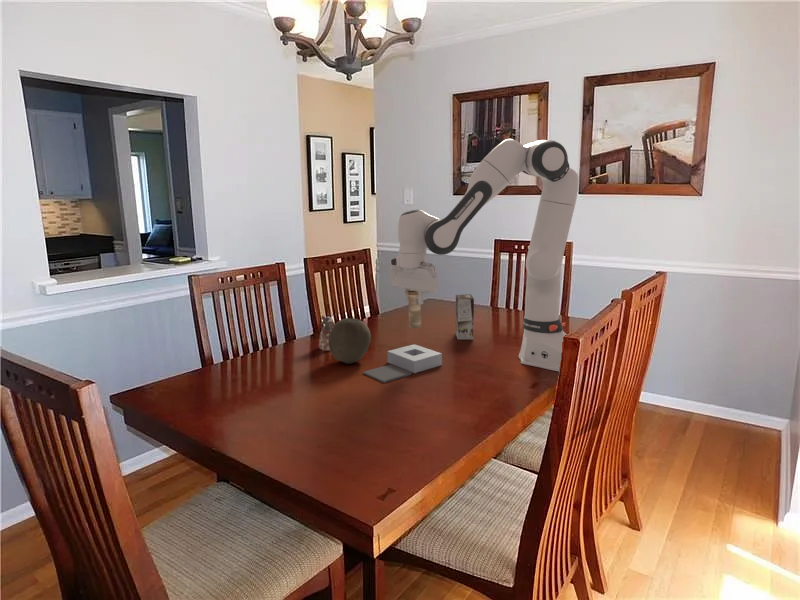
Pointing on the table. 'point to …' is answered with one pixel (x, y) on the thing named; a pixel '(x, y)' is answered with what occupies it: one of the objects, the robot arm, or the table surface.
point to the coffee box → (464, 316)
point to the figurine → (325, 332)
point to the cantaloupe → (349, 340)
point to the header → (414, 358)
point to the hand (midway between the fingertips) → (414, 302)
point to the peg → (414, 310)
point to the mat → (387, 373)
